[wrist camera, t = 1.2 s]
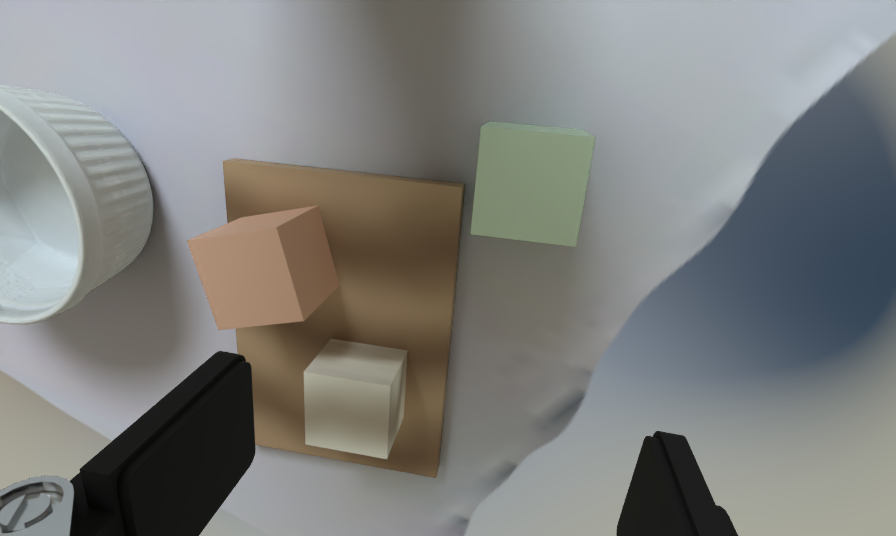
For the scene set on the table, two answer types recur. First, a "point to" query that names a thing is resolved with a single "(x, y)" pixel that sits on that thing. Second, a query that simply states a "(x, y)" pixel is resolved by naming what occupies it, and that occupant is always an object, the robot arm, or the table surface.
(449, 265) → the build board
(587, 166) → the green block
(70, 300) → the ramekin
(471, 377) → the table surface
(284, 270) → the terracotta block
